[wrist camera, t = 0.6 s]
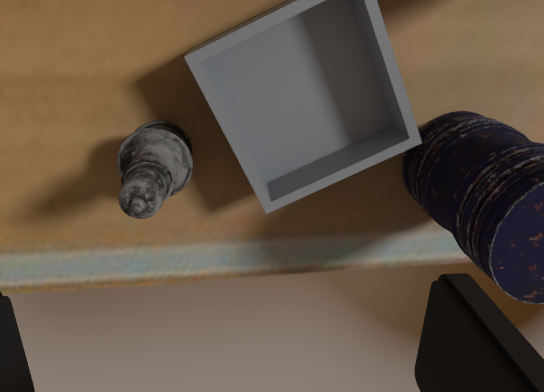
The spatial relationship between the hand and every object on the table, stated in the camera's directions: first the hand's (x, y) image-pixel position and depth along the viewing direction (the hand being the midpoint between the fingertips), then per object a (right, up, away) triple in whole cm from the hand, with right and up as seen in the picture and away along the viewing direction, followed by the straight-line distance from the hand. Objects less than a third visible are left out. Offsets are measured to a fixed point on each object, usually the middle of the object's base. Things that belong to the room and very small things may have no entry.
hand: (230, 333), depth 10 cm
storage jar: (+18, +6, +31) cm, 37 cm away
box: (+3, +12, +27) cm, 30 cm away
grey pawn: (-9, +7, +28) cm, 30 cm away
